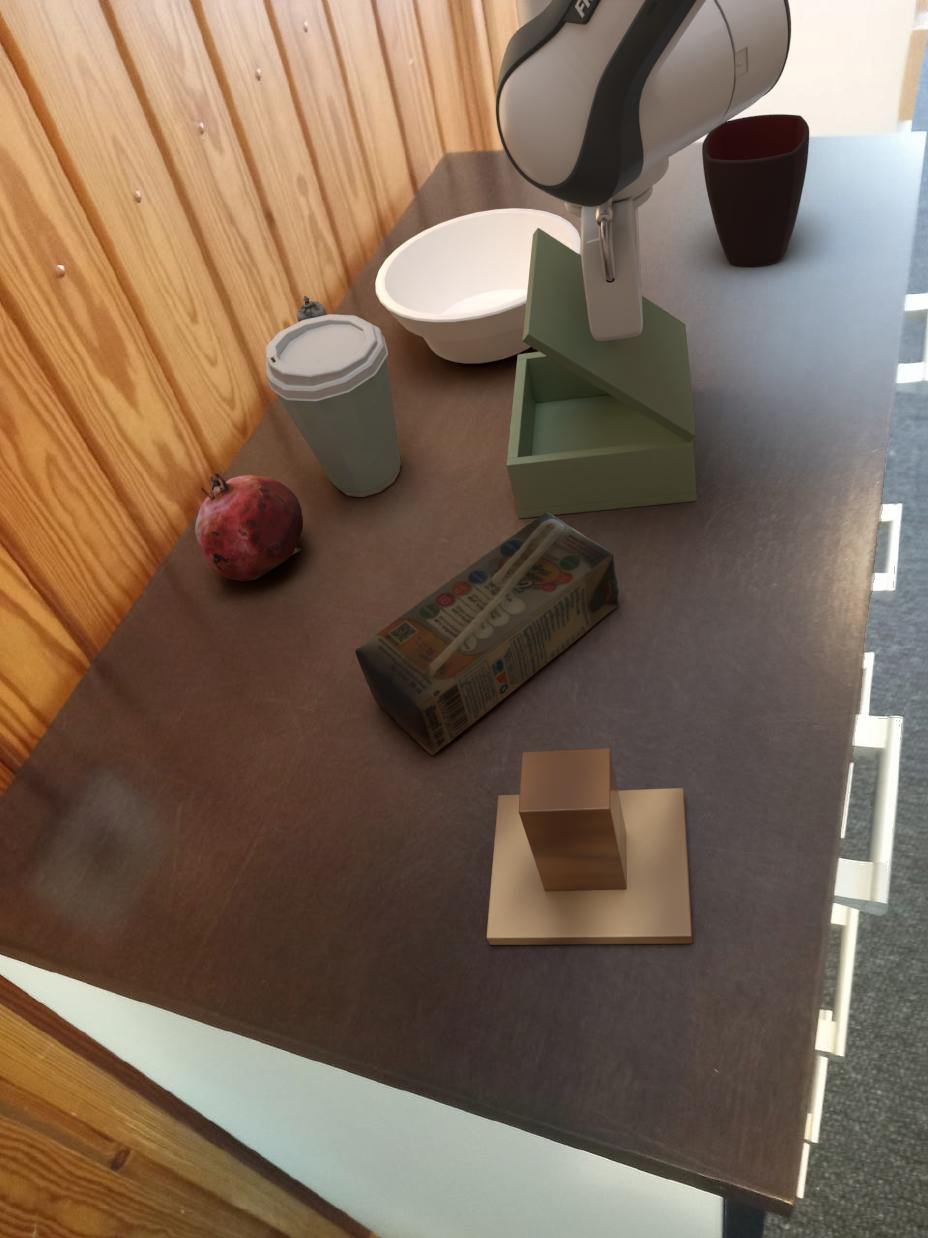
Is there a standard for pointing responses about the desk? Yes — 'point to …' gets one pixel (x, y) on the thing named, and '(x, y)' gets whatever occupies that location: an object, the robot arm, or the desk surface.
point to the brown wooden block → (574, 819)
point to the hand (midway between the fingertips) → (623, 324)
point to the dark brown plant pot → (756, 184)
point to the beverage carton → (488, 630)
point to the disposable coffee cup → (339, 398)
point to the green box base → (588, 447)
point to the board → (597, 916)
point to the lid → (623, 368)
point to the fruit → (248, 526)
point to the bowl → (469, 281)
